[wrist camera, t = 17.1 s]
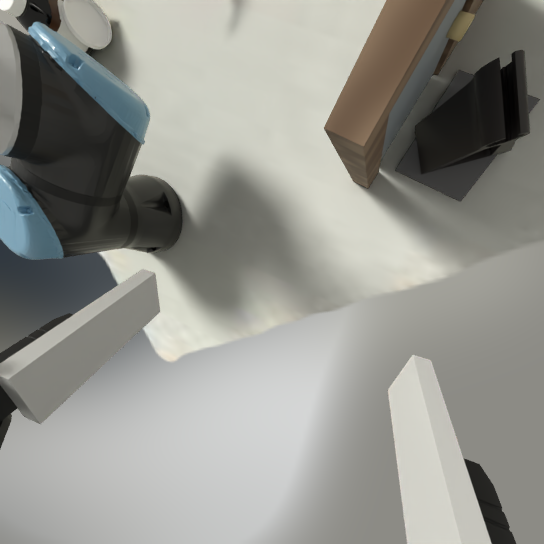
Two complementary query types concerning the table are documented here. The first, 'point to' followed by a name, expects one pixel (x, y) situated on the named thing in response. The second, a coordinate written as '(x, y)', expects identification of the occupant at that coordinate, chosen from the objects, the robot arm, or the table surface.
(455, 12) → the door
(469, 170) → the mat
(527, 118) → the phone stand
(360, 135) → the door frame
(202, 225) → the table surface
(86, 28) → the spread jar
